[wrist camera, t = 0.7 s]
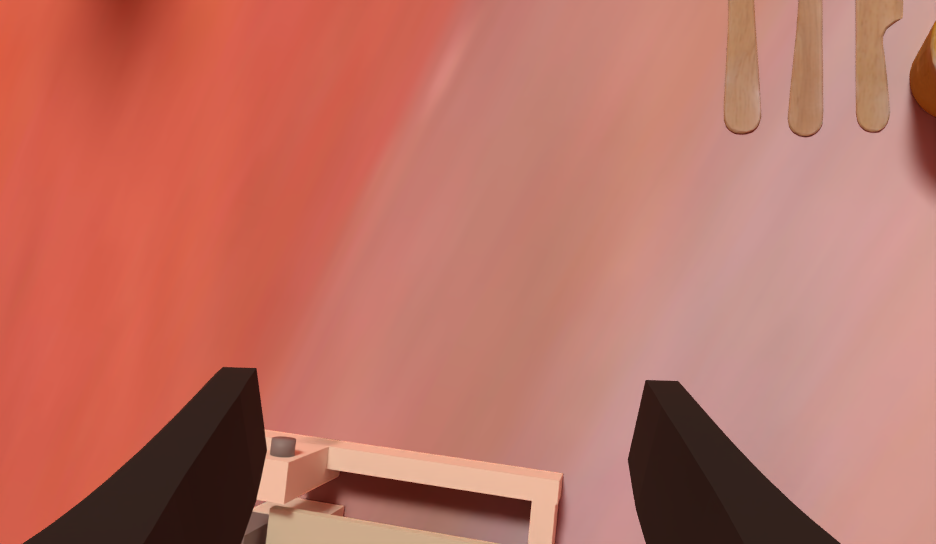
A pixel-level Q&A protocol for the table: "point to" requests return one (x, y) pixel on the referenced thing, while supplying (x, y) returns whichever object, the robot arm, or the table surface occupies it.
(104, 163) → the table surface
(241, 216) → the table surface
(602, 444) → the table surface
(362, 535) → the trapdoor
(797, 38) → the tableware set
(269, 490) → the frame
